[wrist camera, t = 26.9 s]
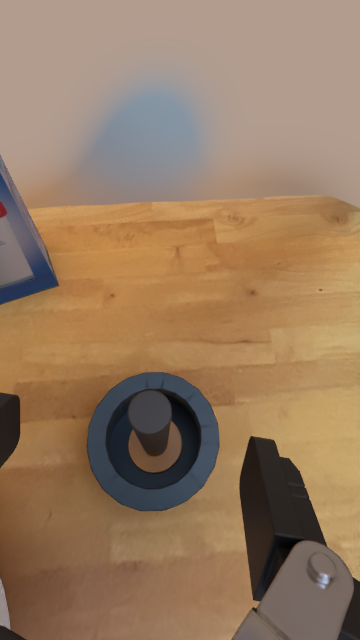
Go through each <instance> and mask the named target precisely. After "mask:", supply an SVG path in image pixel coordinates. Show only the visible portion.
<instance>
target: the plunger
mask: <svg viewBox="0 0 360 640" xmlns="http://www.w3.org/2000/svg"><path fill="white" fill-rule="evenodd" d="M171 416H172V408H171V404H170V402H169V400H168V398H167V397H166V396H165V395H164V394H162V393H161V392H158V391H155V390H146V391H142V392H140V393H138V394H137V395H136V396H135V397H134V398H133V399H132V400H131V402H130V404H129V407H128V420H129V422H130V424H131V426H132V428H133V429H132V431H131V433H130V436H129V440H128V450H129V454H130V457H131V459H132V460H133V462H134V463H135V465H137V466H138V467H139V468H140V469H142V470H143V471H145V472H148V473H151V474H159V473H163V472H165V471H167V470H169V469H170V468H171V467H172V466H173V465H174V464H175V463H176V461H177V459H178V458H179V456H180V453H181V449H182V438H181V434H180V431H179V429H178V428H177V426H176V425H175V424H174V423H173V422H172V421H171Z"/></svg>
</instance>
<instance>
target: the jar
mask: <svg viewBox="0 0 360 640" xmlns="http://www.w3.org/2000/svg"><path fill="white" fill-rule="evenodd" d="M146 390H155V391H158V392H161V393H162V394H164V395H165V396H166V397H167V398H168V400H169V402H170V404H171V408H172V416H171V421H172V422H173V423H174V424H175V425H176V426H177V428H178V429H179V431H180V434H181V438H182V449H181V453H180V456H179V458H178V459H177V461H176V463H175V464H174V465H173V466H172V467H171V468H170V469H169V470H167V471H165V472H163V473H159V474H151V473H148V472H145V471H143V470H142V469H140V468H139V467H138V466H137V465H135V463H134V462H133V460H132V459H131V457H130V454H129V450H128V440H129V436H130V433H131V431H132V429H133V428H132V426H131V424H130V422H129V420H128V407H129V404H130V402H131V400H132V399H133V398H134V397H135V396H136V395H137V394H138V393H140V392H142V391H146ZM218 450H219V432H218V423H217V420H216V418H215V415H214V412H213V410H212V407H211V405H210V403H209V402H208V401H207V399H206V398H205V397H204V396H203V394H202V393H201V392H200V390H199V389H197V388H196V387H195V386H193V385H192V384H190V383H189V382H187V381H186V380H184V379H183V378H181V377H177V376H174V375H171V374H168V373H164V372H149V373H142V374H139V375H136V376H133V377H129V378H127V379H125V380H124V381H122V382H121V383H119V384H118V385H116V386H115V387H113V388H112V389H111V390H110V391H109V392H108V393H107V394H106V395H105V397H104V398H103V399H102V400H101V402H100V403H99V404H98V406H97V407H96V409H95V412H94V414H93V417H92V419H91V421H90V424H89V428H88V438H87V452H88V457H89V462H90V467H91V469H92V472H93V474H94V475H95V477H96V479H97V481H98V482H99V484H100V486H101V487H102V489H103V490H104V491H105V492H106V493H108V494H109V495H110V496H111V497H112V498H114V499H115V500H116V501H117V502H118V503H120V504H122V505H125V506H127V507H130V508H133V509H136V510H139V511H163V510H167V509H170V508H172V507H175V506H177V505H180V504H182V503H184V502H186V501H187V500H188V499H190V498H191V497H192V496H193V495H194V494H195V493H196V492H198V491H199V490H200V489H201V488H202V487H203V486H204V484H205V482H206V481H207V479H208V477H209V476H210V474H211V472H212V471H213V469H214V467H215V463H216V458H217V454H218Z"/></svg>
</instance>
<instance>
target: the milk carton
mask: <svg viewBox="0 0 360 640" xmlns="http://www.w3.org/2000/svg"><path fill="white" fill-rule="evenodd" d="M56 286H59V285H58V282H57V279H56V276H55V273H54V270H53V267H52V264H51V261H50V258H49V255H48V252H47V249H46V247H45V245H44V243H43V241H42V239H41V237H40V235H39V233H38V231H37V229H36V226H35V224H34V222H33V220H32V218H31V216H30V214H29V212H28V210H27V208H26V206H25V204H24V202H23V200H22V198H21V196H20V194H19V192H18V190H17V188H16V186H15V184H14V182H13V180H12V178H11V176H10V174H9V172H8V170H7V168H6V166H5V164H4V162H3V160H2V158H1V156H0V304H3V303H6V302H9V301H12V300H16V299H19V298H22V297H25V296H28V295H31V294H34V293H37V292H40V291H43V290H46V289H49V288H53V287H56Z"/></svg>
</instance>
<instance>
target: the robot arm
mask: <svg viewBox="0 0 360 640" xmlns="http://www.w3.org/2000/svg"><path fill="white" fill-rule="evenodd" d="M19 438H20V399H19V397H18V396H17V395H11V394H6V393H0V468H1V467H2V465H3V464H4V463H5V462H6V461H7V459H8V458H9V457H10V456H11V454H12V453H13V452H14V450H15V448H16V446H17V444H18V441H19ZM240 499H241V507H242V515H243V523H244V531H245V539H246V547H247V555H248V563H249V571H250V579H251V587H252V595H253V600H255V601H261V602H260V603H259V605H258V606H257V608H256V609H255V608H254V607H253V608H252V609H251V610H250V611H249V613H248V614H247V615H246V617H245V619H244V620H243V622H242V623H241V625H240V627H239V628H238V630H237V631H236V633H235V635H234V636H233V638H232V640H360V582H359V581H358V580H356V579H355V578H353V577H352V575H351V573H350V571H349V569H348V567H347V566H346V564H345V563H344V562H343V560H342V559H341V558H340V557H339V556H338V555H337V554H336V553H335V552H334V551H332V550H331V549H329V548H328V547H327V545H326V542H325V539H324V536H323V534H322V531H321V528H320V526H319V523H318V520H317V517H316V515H315V512H314V509H313V506H312V504H311V501H310V500H309V496H308V493H307V490H306V488H305V485H304V482H303V479H302V477H301V474H300V471H299V470H298V469H297V468H296V466H295V465H294V464H293V463H292V462H291V460H290V459H289V458H283V457H280V456H279V453H278V450H277V446H276V443H275V441H274V440H271V439H266V438H260V437H254V436H251V437H250V440H249V443H248V447H247V451H246V455H245V459H244V462H243V466H242V470H241V475H240ZM0 640H26V639H24V638H23V637H21V636H20V635H18V634H16V633H15V632H13V631H11V630H10V629H8V628H6V627H5V626H1V625H0Z"/></svg>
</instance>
